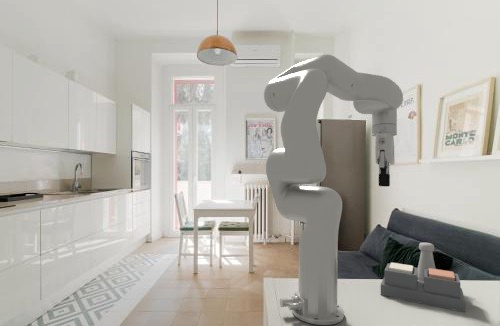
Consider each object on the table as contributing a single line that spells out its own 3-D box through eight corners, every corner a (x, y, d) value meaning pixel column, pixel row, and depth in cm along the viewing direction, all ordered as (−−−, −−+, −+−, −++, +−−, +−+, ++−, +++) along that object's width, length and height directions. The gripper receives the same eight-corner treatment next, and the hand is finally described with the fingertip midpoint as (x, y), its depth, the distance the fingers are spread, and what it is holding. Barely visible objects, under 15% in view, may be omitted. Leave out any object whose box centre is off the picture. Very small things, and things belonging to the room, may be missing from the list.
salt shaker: (440, 288, 93) (440, 245, 93) (420, 286, 94) (420, 244, 95) (432, 281, 99) (432, 241, 99) (413, 279, 100) (413, 240, 100)
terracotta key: (428, 286, 83) (428, 273, 83) (428, 280, 88) (428, 268, 88) (455, 291, 80) (455, 278, 80) (453, 284, 85) (453, 271, 85)
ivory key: (389, 279, 88) (389, 267, 88) (391, 273, 93) (391, 262, 93) (412, 283, 85) (412, 271, 85) (413, 277, 90) (413, 265, 90)
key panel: (380, 294, 87) (380, 270, 87) (384, 284, 96) (385, 261, 96) (465, 312, 77) (464, 284, 77) (461, 298, 85) (461, 273, 86)
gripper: (394, 127, 92) (394, 187, 91) (398, 133, 104) (398, 185, 104) (368, 128, 95) (368, 186, 95) (375, 134, 108) (375, 185, 108)
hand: (384, 186), depth 99 cm, fingers closed
